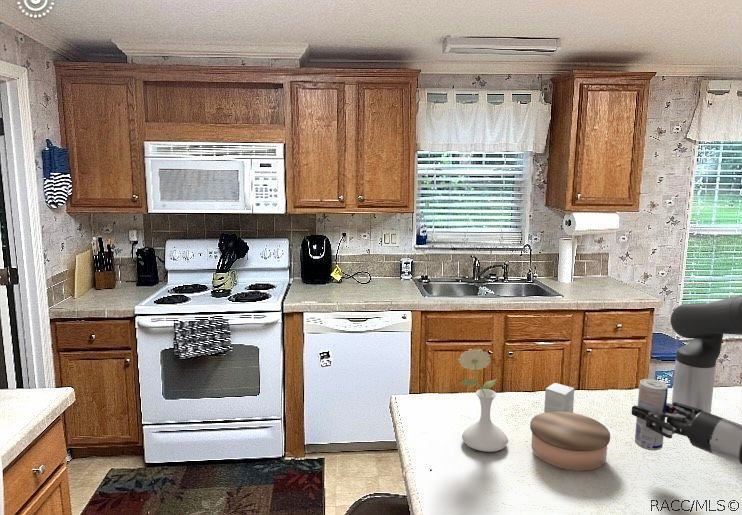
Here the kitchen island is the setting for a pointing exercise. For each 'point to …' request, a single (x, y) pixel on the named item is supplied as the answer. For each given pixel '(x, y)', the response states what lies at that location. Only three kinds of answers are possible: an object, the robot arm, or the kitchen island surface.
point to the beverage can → (654, 401)
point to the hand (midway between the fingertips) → (640, 406)
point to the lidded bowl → (569, 440)
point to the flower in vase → (482, 407)
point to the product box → (559, 398)
